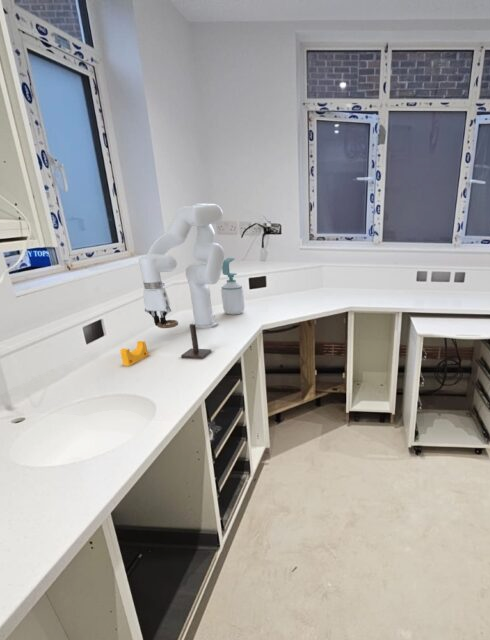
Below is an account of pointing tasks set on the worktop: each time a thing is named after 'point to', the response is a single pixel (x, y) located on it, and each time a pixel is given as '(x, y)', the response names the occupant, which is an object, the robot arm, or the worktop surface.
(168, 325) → the ring
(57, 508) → the worktop surface
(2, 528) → the worktop surface
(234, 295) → the soap bottle
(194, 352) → the post
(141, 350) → the pipe clamp
